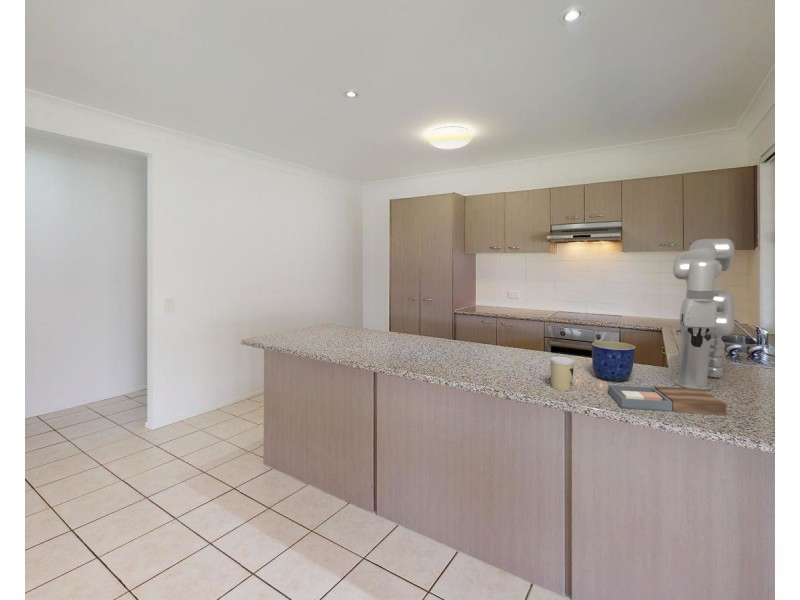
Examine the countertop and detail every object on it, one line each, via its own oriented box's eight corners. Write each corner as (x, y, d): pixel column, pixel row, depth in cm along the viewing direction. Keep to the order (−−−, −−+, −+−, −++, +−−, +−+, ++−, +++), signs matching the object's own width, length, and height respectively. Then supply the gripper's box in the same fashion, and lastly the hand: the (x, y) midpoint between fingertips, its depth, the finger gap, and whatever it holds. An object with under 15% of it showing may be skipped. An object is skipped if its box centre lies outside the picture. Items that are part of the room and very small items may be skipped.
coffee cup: (575, 391, 161) (576, 362, 160) (551, 390, 163) (552, 361, 161) (570, 384, 170) (571, 356, 169) (547, 383, 172) (548, 356, 170)
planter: (640, 385, 168) (642, 349, 167) (597, 383, 171) (599, 348, 169) (624, 374, 185) (626, 341, 183) (585, 372, 188) (586, 340, 186)
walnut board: (653, 396, 155) (654, 386, 155) (700, 399, 152) (701, 388, 151) (672, 411, 139) (673, 400, 139) (725, 415, 136) (726, 403, 136)
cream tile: (638, 391, 151) (637, 398, 152) (620, 390, 153) (620, 396, 153) (644, 396, 145) (643, 403, 146) (625, 395, 147) (625, 402, 147)
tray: (608, 393, 158) (608, 385, 158) (653, 396, 155) (653, 387, 155) (621, 408, 143) (622, 398, 142) (671, 411, 140) (672, 401, 139)
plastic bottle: (714, 374, 183) (717, 331, 181) (726, 379, 176) (730, 334, 174) (700, 375, 183) (703, 331, 181) (712, 379, 176) (715, 334, 174)
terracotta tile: (637, 397, 152) (637, 391, 152) (655, 398, 151) (655, 392, 150) (643, 403, 146) (643, 396, 146) (661, 404, 145) (662, 397, 144)
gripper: (718, 294, 144) (715, 344, 146) (671, 294, 147) (668, 343, 149) (730, 297, 136) (726, 349, 139) (680, 296, 140) (677, 348, 142)
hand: (696, 346), depth 144 cm, fingers closed
